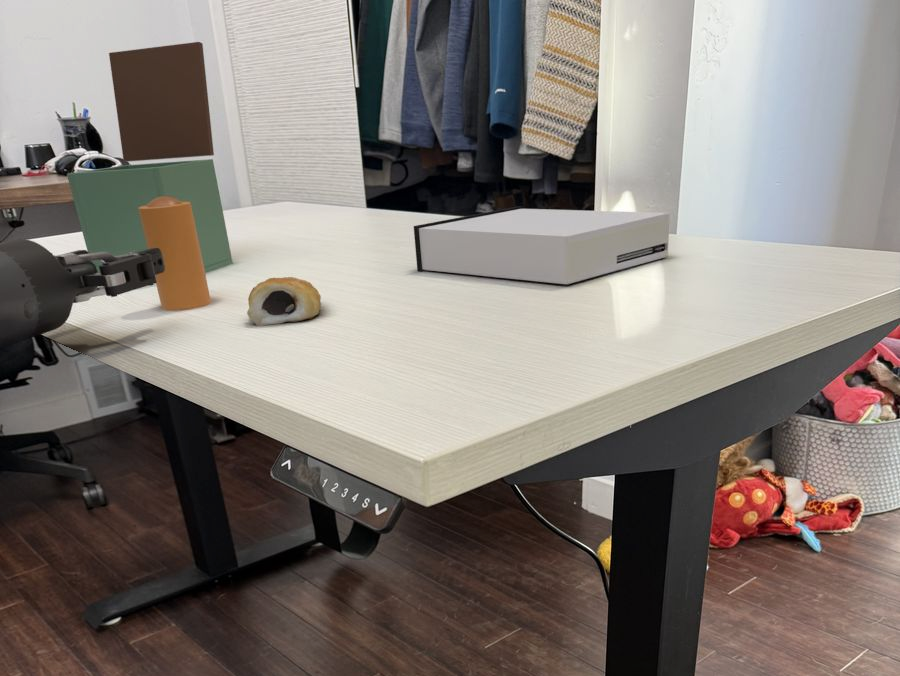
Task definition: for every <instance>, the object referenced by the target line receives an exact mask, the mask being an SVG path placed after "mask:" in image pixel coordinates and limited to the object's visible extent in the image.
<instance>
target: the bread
mask: <svg viewBox="0 0 900 676" xmlns="http://www.w3.org/2000/svg"><path fill="white" fill-rule="evenodd" d="M138 209H139V213H140V218H141V222H142V226H143V230H144V235H145V239H146V243H147V247H148V249H150V248H159V249H160V250H161V253H162V256H163V260H164V264H165V270H164V272H163V273H160V274H157V275H155V276H156V280H157V283H155V286H156V289H157V293H158V298H159V302H160V306H161V309H162V310H164V311H171V312H172V311H186V310H193V309H199V308H203V307H206V306H208V305H210V304H212V299H211V295H210V289H209V285H208V280H207V276H206V273H205V270H204V265H203V260H202V256H201V251H200V246H199V241H198V236H197V231H196V227H195V222H194V217H193V212H192V207H191V203H190V202H181V201H179V200H178V199H176V198H173V197H169V196H162V197H158V198H155V199H153V200H152V201H151V202H150V203H149V204H148V205H147V206H142V207H139V208H138Z"/></svg>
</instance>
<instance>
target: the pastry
mask: <svg viewBox="0 0 900 676" xmlns="http://www.w3.org/2000/svg"><path fill="white" fill-rule="evenodd" d="M247 299H248V309H247V312H246V314H247V316H248V318H249V319H250V320H251V322H252V323H254V325H255V326H271V325H272V326H273V325H280V324H281V325H282V324H283V323H286V322H287V323H288V322H291V323H298V322H300V321H305V320H312V319H313V318H314V317H316V316H317V315H319V313H320V312H321V305H322V303H321V299H322V297H321V294H320V293H319V291H318V289H317V288H316V287H315V286H313V285H312V283H311V282H310V281H307V280H305V279H300V278H297V277H293V276H287V277H269V278H268V279H265V281H260V282H259V283H257V284H256V286H254V287H253V288H252V289H251V291H250V293H249V294H248V298H247Z"/></svg>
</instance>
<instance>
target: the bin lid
mask: <svg viewBox="0 0 900 676" xmlns="http://www.w3.org/2000/svg"><path fill="white" fill-rule="evenodd" d="M108 56H109V64H110V71H111V78H112V87H113V93H114V94H113V95H114V101H115V108H116V115H117V116H116V117H117V122H118V128H119V129H118V131H119V139H120V146H121V151H122V152H121V154H122V159H123V162H126V163H129V162H142V161H143V162H145V161H156V160H157V161H158V160H171V159H183V158H195V157H196V158H198V157H209V156H210V157H212V156H215V153H214V152H215V151H214V142H213V132H212V124H211V114H210V113H211V112H210V103H209V93H208V83H207V74H206V65H205V53H204V45H203V43H202V42H200V41H195V42H185V43H177V44H170V45H162V46H161V45H160V46H152V47H143V48H138V49H137V48H136V49H129V50H121V51H113V52H109V53H108Z"/></svg>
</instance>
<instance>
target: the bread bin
mask: <svg viewBox="0 0 900 676" xmlns="http://www.w3.org/2000/svg"><path fill="white" fill-rule="evenodd" d="M216 173H217V172H216V169H215V163H214V158H210V159H209V158H208V159H197V160H181V161H180V160H179V161H168V162H152V163H139V164H138V163H137V164H124V165H117V166H112V167H111V166H110V167H104V168H97V169H89V170H83V171H74V172H68V173H66V177H67V180H68V184H69V188H70V192H71V196H72V199H73V203H74V206H75V210H76V213H77V217H78V221H79V224H80V229H81V233H82V236H83V240H84V243H85V247H86V251H87V252H88V253H96V252H102V251H105V252H108V253H111V254H112V255H113V256H117V255H123V254H128V252H134V253H135V252H139V251H142V250H146V249H148V247H147V243H146V239H145V235H144V230H143V226H142V222H141V218H140V213H139V209H138V208H139V207H142V206H147V205H148V204H149V203H150V202H151V201H152V200H153V199H155V198H158V197H162V196H169V197H173V198H176V199H178V200H179V201H181V202H190V203H191V207H192V212H193V217H194V222H195V227H196V231H197V236H198V241H199V246H200V251H201V256H202V260H203V265H204V270H205V274H207V273H210V272H212V271H213V272H214V271H215V270H219V269H222V268H224V267H227V266H230V265H233V264H234V262H233V259H232V258H233V257H232V252H231V246H230V242H229V241H230V240H229V236H228V231H227V225H226V221H225V215H224V210H223V204H222V200H221V195H220V194H221V193H220V189H219V184H218V180H217V179H218V178H217V174H216ZM91 262H93V263H94V264H95V266H96V268H97V272H98V273H100V269H99V265H102V263H103V262H102V261H101V260H96V261H91Z"/></svg>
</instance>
